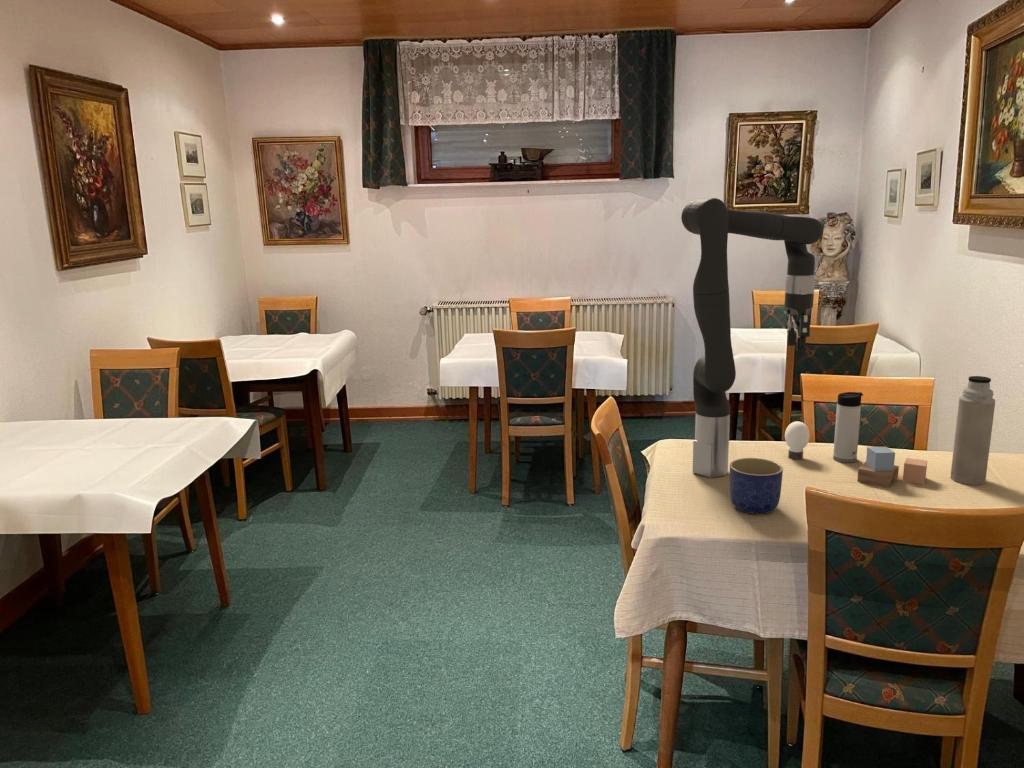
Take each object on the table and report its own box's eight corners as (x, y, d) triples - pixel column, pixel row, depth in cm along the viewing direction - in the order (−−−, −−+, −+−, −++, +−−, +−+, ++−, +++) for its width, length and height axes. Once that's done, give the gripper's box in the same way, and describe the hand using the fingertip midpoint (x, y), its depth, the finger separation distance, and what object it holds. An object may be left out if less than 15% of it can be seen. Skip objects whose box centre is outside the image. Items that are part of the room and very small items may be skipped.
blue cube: (893, 470, 194) (895, 452, 193) (874, 471, 194) (876, 453, 193) (884, 464, 199) (886, 446, 198) (865, 464, 199) (867, 447, 198)
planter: (731, 495, 191) (732, 455, 188) (782, 501, 186) (784, 460, 184) (725, 514, 180) (726, 472, 177) (779, 520, 175) (781, 477, 172)
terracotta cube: (923, 484, 194) (925, 466, 193) (902, 480, 197) (904, 463, 196) (925, 478, 198) (927, 460, 197) (904, 475, 201) (906, 457, 200)
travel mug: (860, 463, 210) (865, 395, 206) (835, 462, 212) (840, 395, 207) (854, 456, 216) (860, 390, 212) (831, 455, 218) (835, 389, 213)
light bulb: (783, 460, 215) (785, 424, 213) (784, 452, 221) (786, 417, 219) (807, 462, 213) (810, 425, 210) (808, 454, 219) (810, 419, 216)
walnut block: (889, 489, 192) (890, 474, 191) (857, 482, 197) (858, 468, 196) (897, 480, 198) (899, 466, 197) (866, 473, 203) (867, 460, 202)
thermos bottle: (948, 472, 201) (959, 373, 194) (983, 476, 198) (995, 374, 191) (952, 482, 194) (963, 379, 187) (987, 486, 191) (1000, 381, 184)
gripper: (778, 288, 212) (775, 344, 216) (793, 294, 198) (789, 353, 202) (805, 288, 211) (801, 343, 215) (822, 293, 198) (817, 353, 201)
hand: (796, 348), depth 209 cm, fingers open, 8 cm apart
